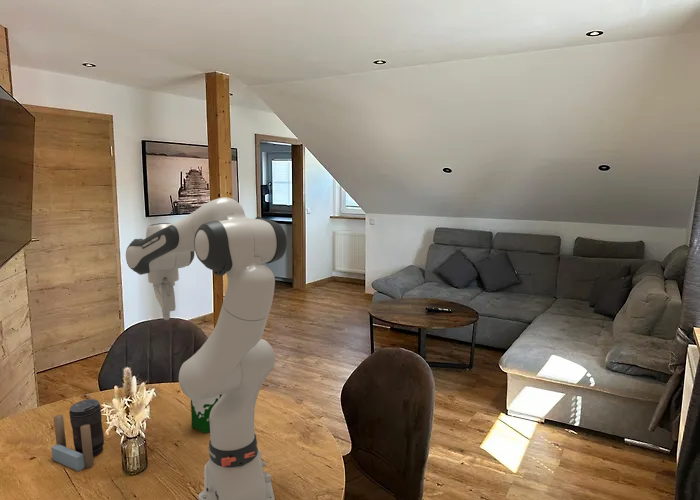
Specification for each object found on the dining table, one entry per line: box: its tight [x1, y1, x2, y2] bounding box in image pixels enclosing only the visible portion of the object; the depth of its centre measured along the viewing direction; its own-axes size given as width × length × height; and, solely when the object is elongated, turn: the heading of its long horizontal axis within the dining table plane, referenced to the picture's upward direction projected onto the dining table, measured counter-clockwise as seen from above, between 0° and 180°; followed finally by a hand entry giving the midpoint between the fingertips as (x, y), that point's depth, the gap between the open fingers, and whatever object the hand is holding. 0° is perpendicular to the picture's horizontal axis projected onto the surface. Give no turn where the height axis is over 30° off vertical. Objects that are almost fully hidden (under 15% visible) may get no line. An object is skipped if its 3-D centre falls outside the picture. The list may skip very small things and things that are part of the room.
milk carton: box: [190, 395, 220, 434], centre depth 160 cm, size 9×9×20 cm
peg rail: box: [50, 414, 95, 472], centre depth 142 cm, size 4×15×12 cm, turn 62°
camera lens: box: [68, 398, 105, 457], centre depth 146 cm, size 8×8×15 cm
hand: (166, 318), depth 154 cm, fingers closed
